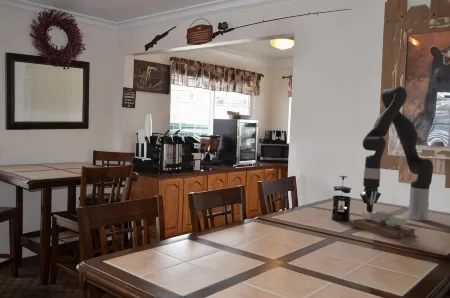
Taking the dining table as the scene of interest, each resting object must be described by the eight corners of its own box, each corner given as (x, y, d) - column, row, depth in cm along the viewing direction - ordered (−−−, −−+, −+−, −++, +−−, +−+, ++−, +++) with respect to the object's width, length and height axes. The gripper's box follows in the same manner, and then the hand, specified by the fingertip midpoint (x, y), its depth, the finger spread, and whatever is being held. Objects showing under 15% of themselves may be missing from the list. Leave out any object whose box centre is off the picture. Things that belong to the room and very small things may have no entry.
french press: (342, 223, 212) (345, 177, 210) (326, 219, 219) (329, 175, 217) (355, 220, 220) (357, 176, 218) (339, 216, 227) (342, 174, 225)
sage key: (396, 227, 197) (397, 215, 196) (405, 230, 193) (406, 217, 192) (389, 228, 194) (390, 216, 194) (399, 231, 190) (399, 218, 189)
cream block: (368, 221, 210) (368, 210, 210) (376, 224, 206) (377, 212, 206) (361, 222, 208) (362, 211, 207) (369, 225, 203) (370, 213, 203)
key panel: (371, 223, 214) (371, 217, 214) (414, 235, 194) (414, 228, 194) (352, 225, 207) (353, 219, 206) (395, 238, 186) (395, 232, 186)
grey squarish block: (381, 222, 203) (382, 211, 203) (390, 225, 199) (391, 213, 199) (375, 223, 201) (375, 212, 200) (384, 226, 197) (384, 214, 196)
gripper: (374, 175, 212) (372, 209, 213) (356, 176, 205) (354, 211, 206) (387, 177, 206) (384, 212, 207) (369, 178, 199) (366, 214, 200)
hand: (369, 212), depth 207 cm, fingers closed
